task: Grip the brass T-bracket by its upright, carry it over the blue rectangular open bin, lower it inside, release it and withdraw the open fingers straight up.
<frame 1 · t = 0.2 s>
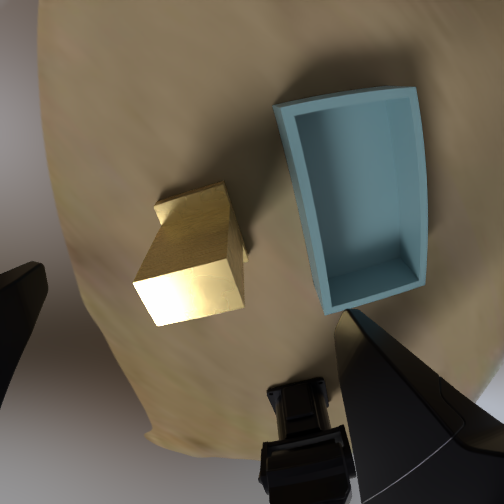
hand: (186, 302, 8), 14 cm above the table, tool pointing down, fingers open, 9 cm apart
blue rectangular open bin: (351, 190, 21), on the table
brass bracket: (203, 228, 22), on the table
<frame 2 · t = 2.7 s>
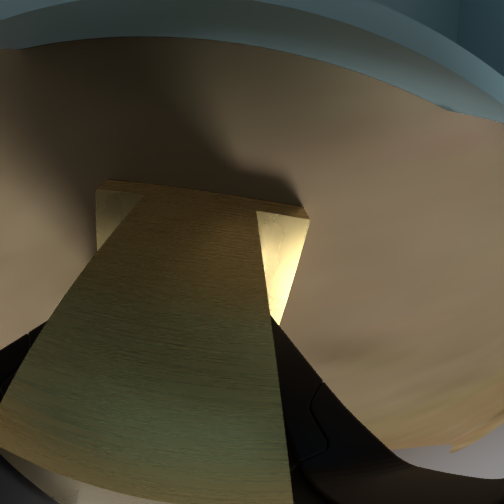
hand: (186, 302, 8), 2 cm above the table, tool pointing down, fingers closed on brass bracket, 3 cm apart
brass bracket: (194, 264, 10), on the table, touching gripper
when the fingers open (4 cm above the table, at t = 6.6 s): brass bracket drops 2 cm, resting on blue rectangular open bin.
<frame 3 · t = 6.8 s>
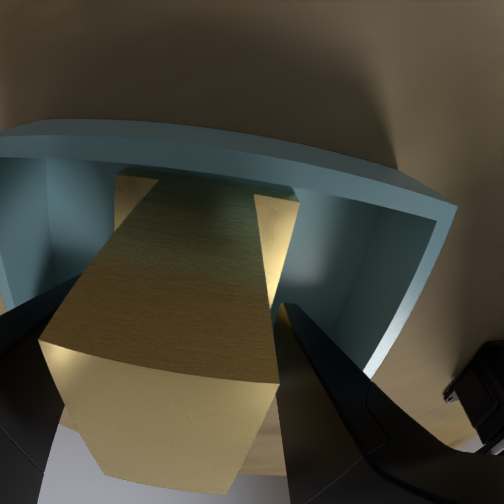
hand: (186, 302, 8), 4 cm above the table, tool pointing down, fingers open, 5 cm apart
blue rectangular open bin: (201, 235, 12), on the table
brass bracket: (199, 243, 11), point 1 cm above the table, touching blue rectangular open bin
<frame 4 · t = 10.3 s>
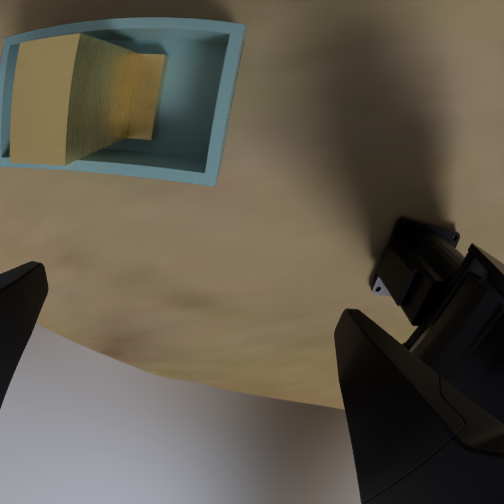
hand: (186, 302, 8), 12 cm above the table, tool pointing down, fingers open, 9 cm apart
blue rectangular open bin: (118, 93, 16), on the table
brass bracket: (115, 94, 15), point 1 cm above the table, touching blue rectangular open bin
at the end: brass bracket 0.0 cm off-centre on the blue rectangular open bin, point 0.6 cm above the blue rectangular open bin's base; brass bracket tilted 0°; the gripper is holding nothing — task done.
